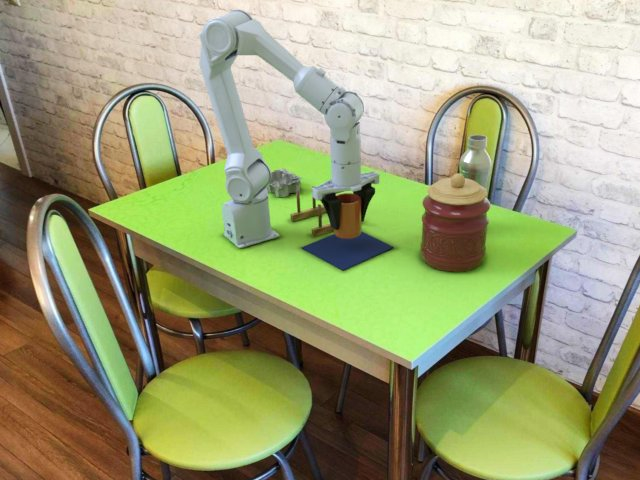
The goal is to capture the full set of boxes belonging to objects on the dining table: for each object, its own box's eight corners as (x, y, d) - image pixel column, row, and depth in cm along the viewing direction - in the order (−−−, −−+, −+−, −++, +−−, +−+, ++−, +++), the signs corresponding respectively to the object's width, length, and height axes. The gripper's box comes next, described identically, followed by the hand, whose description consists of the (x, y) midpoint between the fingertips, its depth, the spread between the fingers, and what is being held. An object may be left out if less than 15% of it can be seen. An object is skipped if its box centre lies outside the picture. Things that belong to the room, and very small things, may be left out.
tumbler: (344, 241, 139) (343, 206, 135) (328, 231, 143) (327, 197, 138) (366, 234, 141) (366, 199, 137) (351, 224, 145) (350, 190, 141)
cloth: (343, 271, 136) (343, 269, 136) (301, 248, 144) (301, 247, 144) (393, 248, 144) (394, 246, 144) (351, 227, 152) (351, 226, 152)
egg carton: (256, 186, 172) (254, 170, 170) (282, 178, 176) (280, 163, 173) (279, 199, 165) (277, 183, 162) (305, 191, 168) (304, 175, 166)
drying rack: (313, 236, 148) (312, 207, 145) (290, 220, 155) (288, 191, 151) (360, 222, 154) (360, 193, 150) (335, 207, 161) (334, 179, 157)
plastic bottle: (485, 235, 148) (494, 144, 137) (453, 232, 149) (459, 142, 138) (486, 222, 153) (495, 133, 142) (455, 220, 155) (462, 131, 144)
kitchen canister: (430, 276, 134) (434, 190, 124) (412, 245, 144) (415, 164, 135) (494, 269, 136) (503, 184, 126) (472, 239, 146) (479, 159, 137)
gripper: (324, 174, 127) (327, 240, 135) (388, 157, 134) (387, 221, 141) (305, 162, 132) (308, 227, 139) (367, 147, 139) (368, 209, 146)
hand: (347, 223), depth 141 cm, fingers closed on tumbler, 5 cm apart
